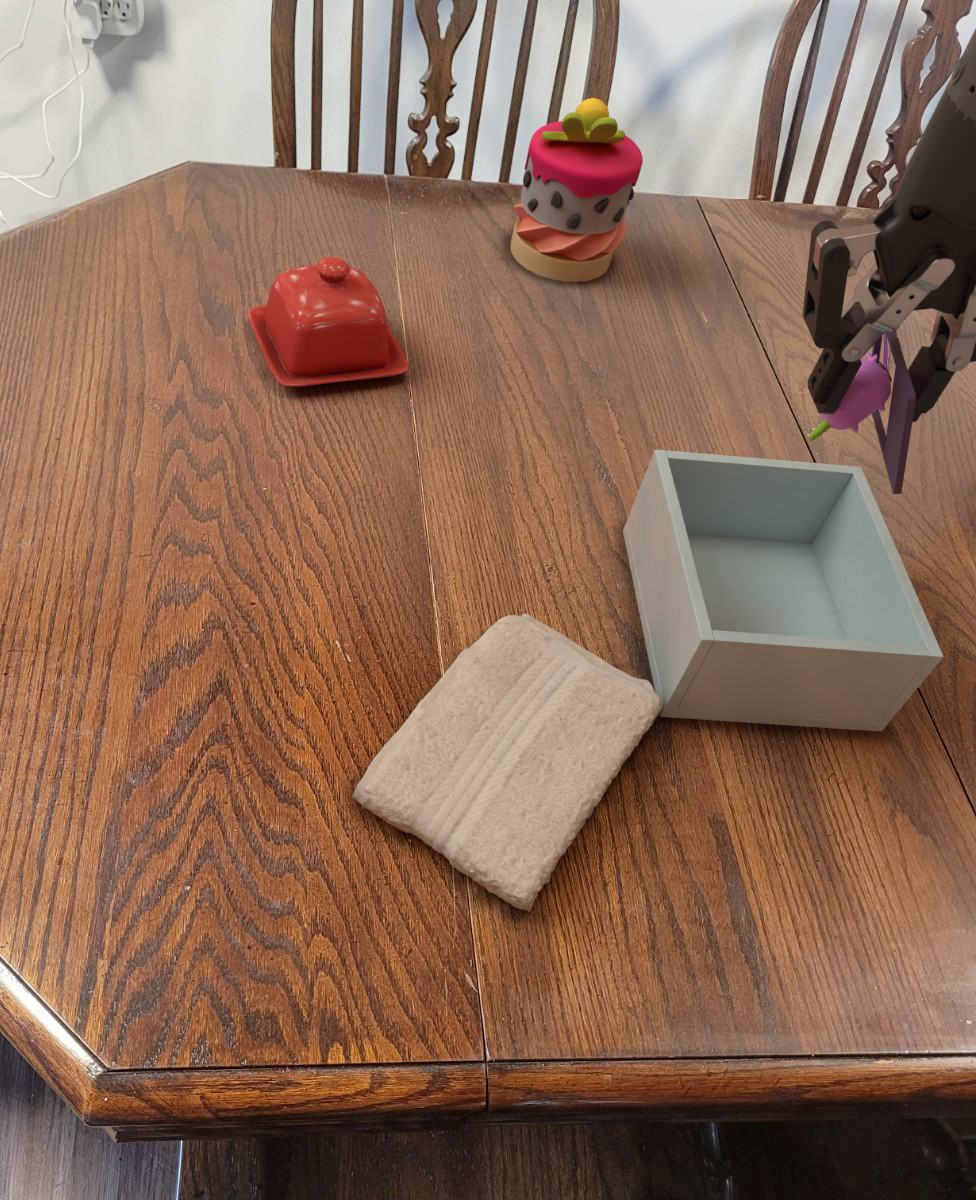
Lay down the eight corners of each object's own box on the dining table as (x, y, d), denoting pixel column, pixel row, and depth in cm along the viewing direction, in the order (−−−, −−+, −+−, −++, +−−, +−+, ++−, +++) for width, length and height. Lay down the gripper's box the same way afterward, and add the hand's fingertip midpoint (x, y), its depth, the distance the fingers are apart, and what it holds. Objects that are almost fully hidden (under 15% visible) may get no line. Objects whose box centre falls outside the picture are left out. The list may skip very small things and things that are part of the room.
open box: (813, 546, 78) (861, 466, 72) (881, 732, 67) (944, 656, 61) (622, 531, 77) (654, 448, 71) (659, 717, 66) (701, 639, 60)
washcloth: (661, 712, 67) (677, 683, 64) (526, 928, 56) (538, 903, 54) (502, 620, 70) (511, 590, 68) (346, 808, 60) (351, 780, 57)
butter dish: (369, 305, 93) (379, 217, 86) (412, 385, 86) (426, 295, 80) (243, 319, 90) (243, 228, 83) (277, 403, 83) (280, 311, 76)
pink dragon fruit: (932, 395, 53) (900, 297, 58) (821, 406, 54) (800, 309, 60) (916, 494, 57) (887, 394, 63) (813, 502, 59) (795, 403, 65)
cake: (497, 224, 104) (528, 69, 93) (598, 227, 106) (641, 75, 95) (517, 283, 98) (554, 124, 86) (625, 286, 99) (675, 130, 88)
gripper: (908, 124, 43) (753, 441, 56) (1233, 159, 44) (1007, 464, 57) (856, 49, 48) (725, 357, 61) (1149, 83, 49) (959, 379, 62)
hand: (862, 407), depth 59 cm, fingers closed on pink dragon fruit, 4 cm apart
